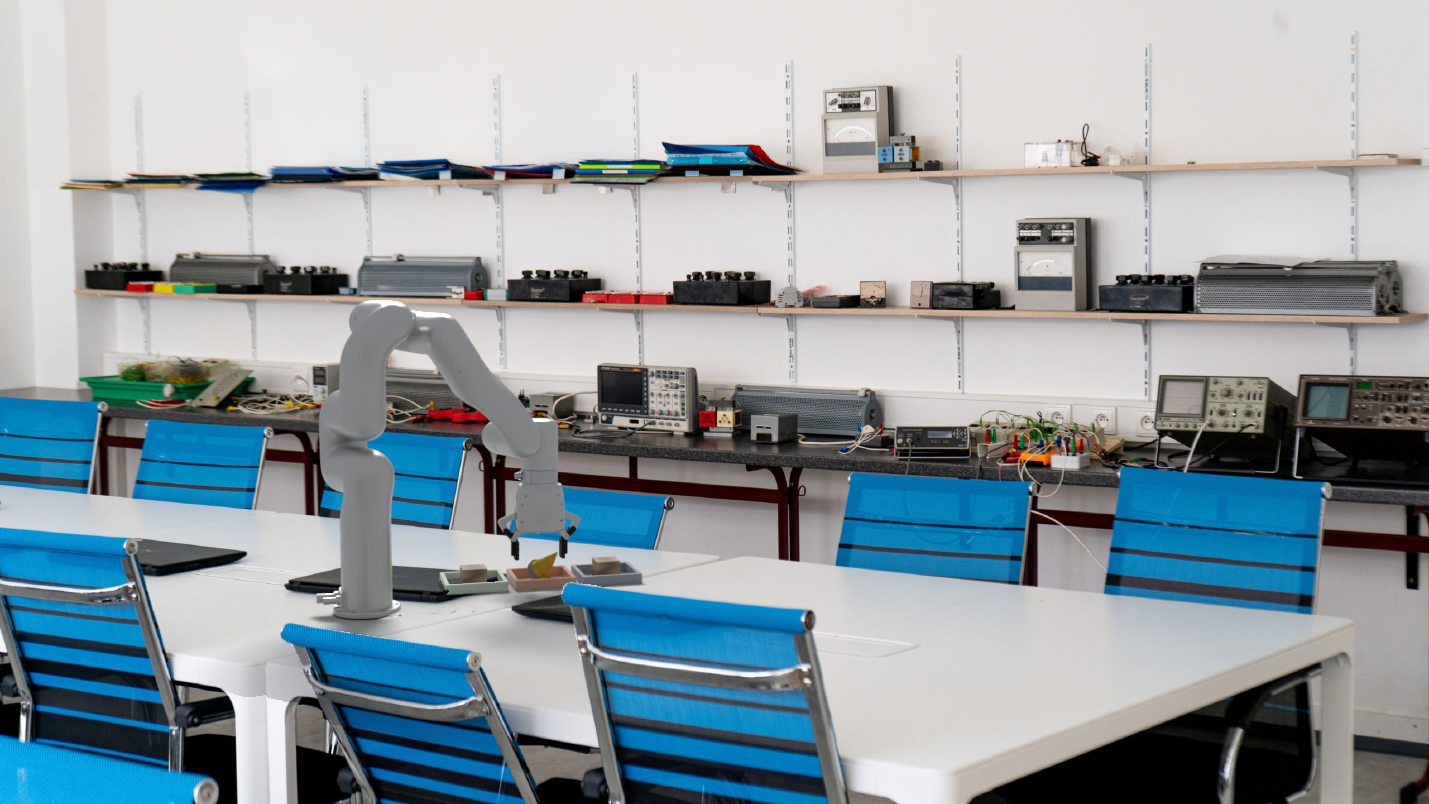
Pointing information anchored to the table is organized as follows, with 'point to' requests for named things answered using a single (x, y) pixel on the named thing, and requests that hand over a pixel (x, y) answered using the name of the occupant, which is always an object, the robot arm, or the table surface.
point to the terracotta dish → (524, 582)
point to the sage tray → (475, 587)
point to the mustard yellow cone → (541, 567)
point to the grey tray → (626, 575)
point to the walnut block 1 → (473, 573)
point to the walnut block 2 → (605, 566)
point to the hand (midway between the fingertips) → (539, 558)
